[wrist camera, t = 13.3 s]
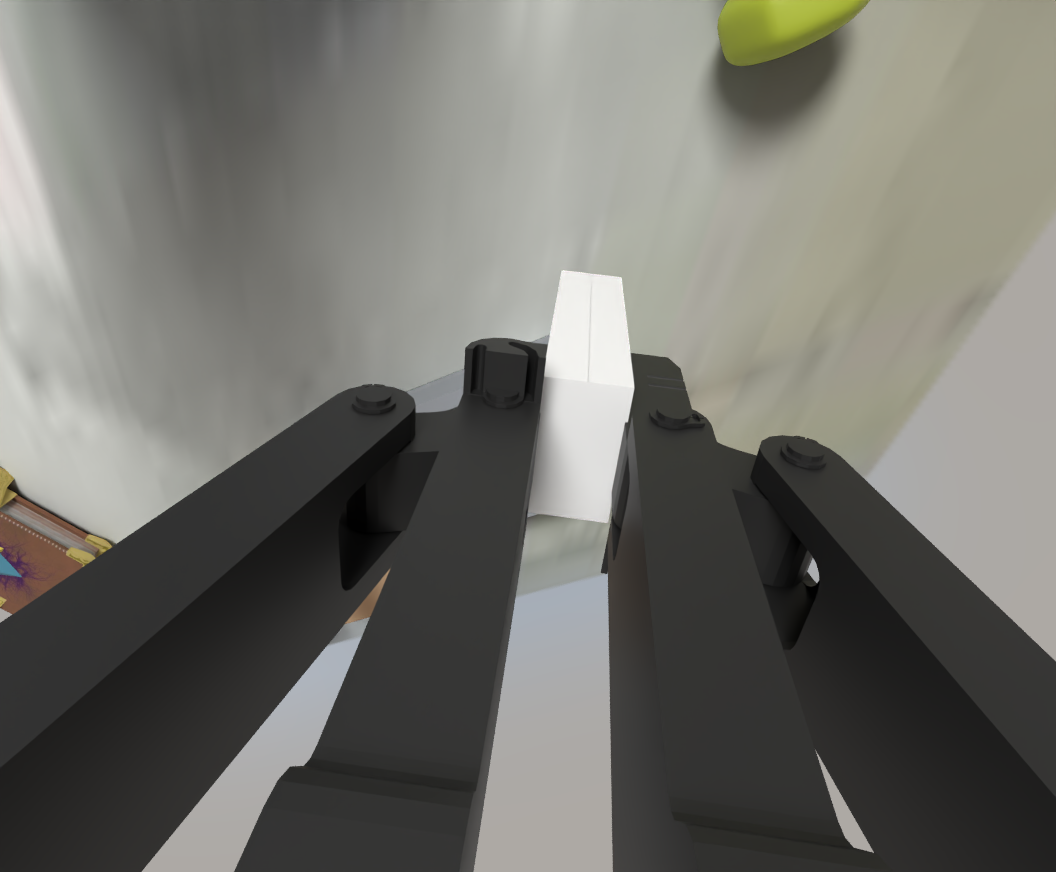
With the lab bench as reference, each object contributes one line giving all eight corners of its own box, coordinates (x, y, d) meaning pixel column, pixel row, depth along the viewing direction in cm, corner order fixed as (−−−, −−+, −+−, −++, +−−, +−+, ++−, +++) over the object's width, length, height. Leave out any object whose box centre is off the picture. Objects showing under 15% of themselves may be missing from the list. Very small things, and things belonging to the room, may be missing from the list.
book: (118, 635, 71) (86, 673, 66) (-114, 513, 65) (-165, 546, 61) (166, 551, 63) (133, 589, 58) (-93, 405, 57) (-150, 434, 53)
